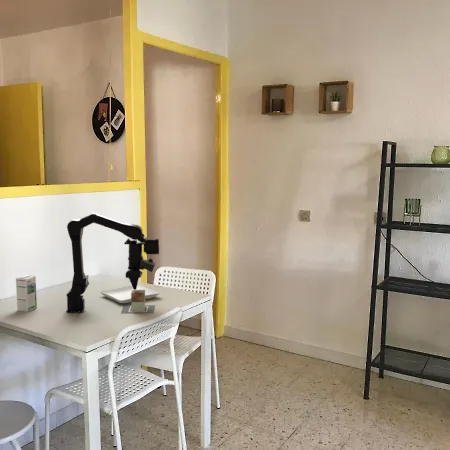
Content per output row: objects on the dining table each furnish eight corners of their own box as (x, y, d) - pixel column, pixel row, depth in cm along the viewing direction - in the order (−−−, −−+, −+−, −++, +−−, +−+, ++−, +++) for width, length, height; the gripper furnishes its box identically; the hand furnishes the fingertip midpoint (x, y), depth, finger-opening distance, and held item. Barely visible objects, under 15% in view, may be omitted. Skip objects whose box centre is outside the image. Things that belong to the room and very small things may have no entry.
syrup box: (27, 312, 206) (26, 278, 205) (16, 310, 208) (15, 277, 207) (37, 308, 212) (36, 276, 210) (26, 306, 214) (25, 274, 212)
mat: (120, 314, 206) (120, 313, 206) (123, 306, 218) (123, 305, 218) (153, 314, 207) (153, 313, 207) (155, 306, 219) (155, 305, 219)
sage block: (131, 311, 209) (131, 302, 209) (132, 307, 215) (132, 298, 214) (144, 311, 210) (144, 302, 209) (145, 307, 215) (145, 298, 215)
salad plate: (98, 297, 233) (98, 290, 232) (137, 290, 247) (137, 283, 246) (120, 307, 217) (120, 300, 216) (160, 299, 231) (160, 292, 230)
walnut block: (131, 302, 209) (131, 293, 208) (132, 298, 214) (132, 289, 214) (144, 302, 209) (144, 293, 209) (145, 298, 215) (145, 289, 214)
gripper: (152, 258, 202) (152, 295, 204) (155, 250, 220) (154, 284, 222) (125, 258, 201) (125, 295, 203) (130, 250, 219) (130, 284, 221)
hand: (135, 289), depth 212 cm, fingers closed
